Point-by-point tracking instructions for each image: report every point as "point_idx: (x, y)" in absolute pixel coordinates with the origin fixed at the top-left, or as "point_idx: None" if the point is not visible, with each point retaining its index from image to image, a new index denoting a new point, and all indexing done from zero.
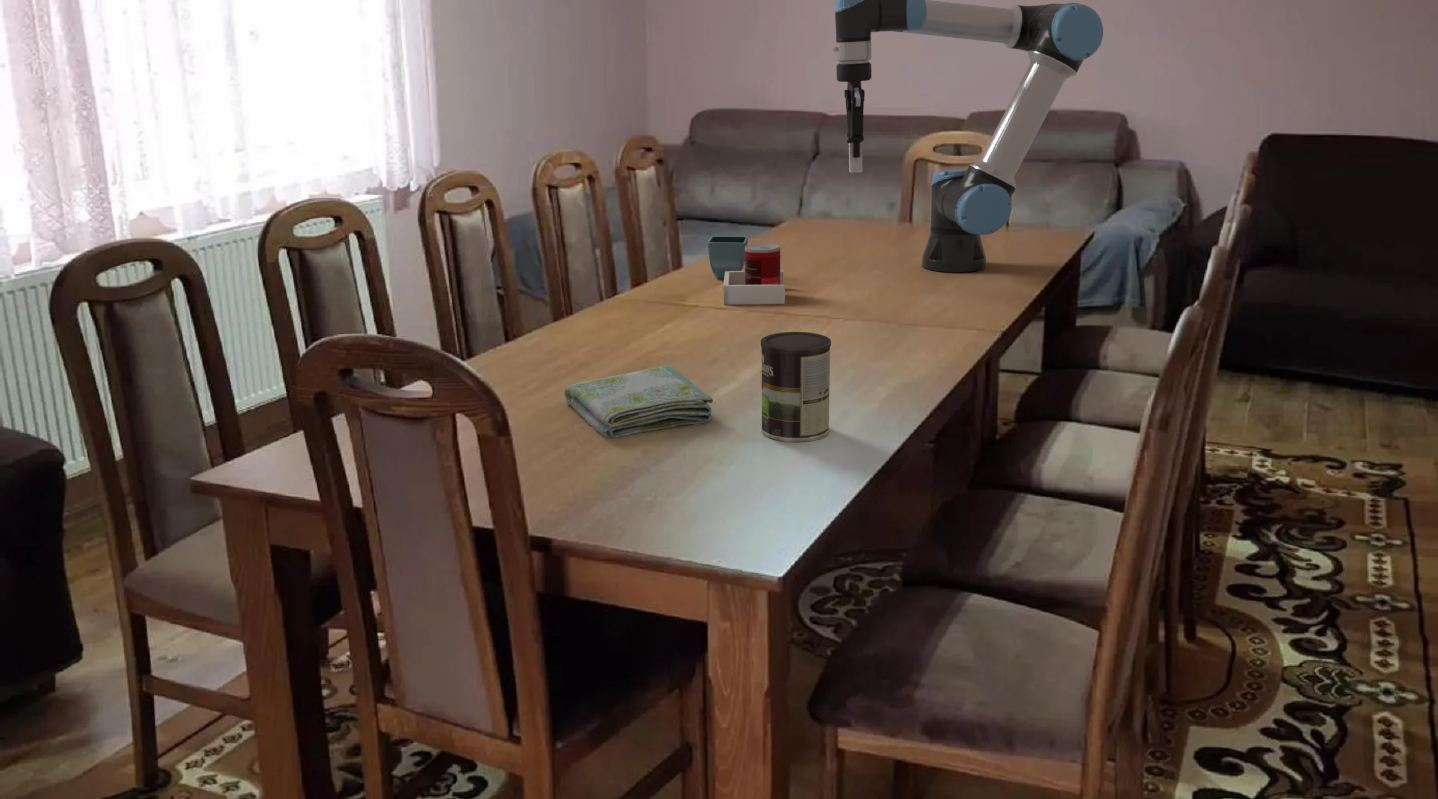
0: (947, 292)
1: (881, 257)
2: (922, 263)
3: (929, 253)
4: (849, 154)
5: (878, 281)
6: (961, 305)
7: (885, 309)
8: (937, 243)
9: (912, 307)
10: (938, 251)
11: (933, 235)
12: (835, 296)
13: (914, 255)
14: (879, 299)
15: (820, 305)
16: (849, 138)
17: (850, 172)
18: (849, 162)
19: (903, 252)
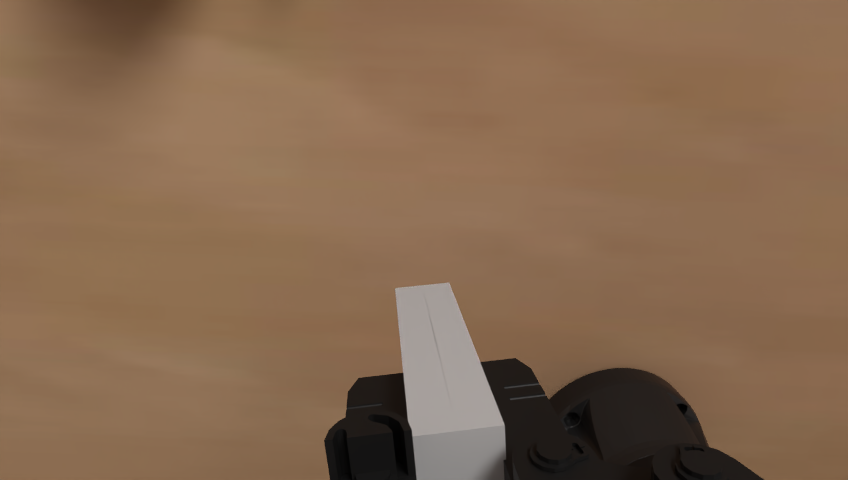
0: (285, 411)
1: (771, 266)
2: (616, 373)
3: (598, 408)
4: (440, 352)
5: (429, 245)
6: (128, 435)
7: (43, 250)
8: (598, 448)
9: (83, 321)
10: (587, 435)
11: (632, 452)
12: (206, 108)
13: (777, 354)
14: (177, 238)
15: (63, 54)
16: (515, 470)
17: (395, 290)
18: (443, 315)
19: (827, 328)
